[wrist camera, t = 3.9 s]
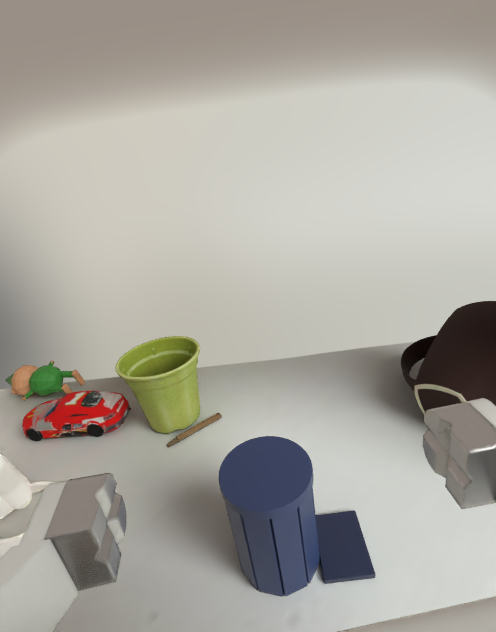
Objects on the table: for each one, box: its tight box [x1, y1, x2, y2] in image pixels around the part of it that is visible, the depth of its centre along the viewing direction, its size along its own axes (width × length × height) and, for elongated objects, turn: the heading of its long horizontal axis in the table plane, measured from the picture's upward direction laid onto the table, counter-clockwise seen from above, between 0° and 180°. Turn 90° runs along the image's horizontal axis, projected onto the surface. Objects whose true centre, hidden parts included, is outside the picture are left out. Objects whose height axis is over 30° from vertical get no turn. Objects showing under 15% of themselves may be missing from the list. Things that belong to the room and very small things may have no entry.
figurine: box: [6, 361, 85, 400], centre depth 56 cm, size 4×7×12 cm
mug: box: [401, 301, 496, 415], centre depth 41 cm, size 10×14×12 cm
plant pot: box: [116, 336, 200, 433], centre depth 45 cm, size 9×9×9 cm
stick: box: [167, 413, 221, 447], centre depth 44 cm, size 7×1×1 cm, turn 125°
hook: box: [0, 454, 52, 558], centre depth 34 cm, size 8×12×7 cm
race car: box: [22, 391, 131, 441], centre depth 48 cm, size 13×5×4 cm, turn 85°
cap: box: [219, 436, 375, 596], centre depth 28 cm, size 10×6×9 cm, turn 92°
